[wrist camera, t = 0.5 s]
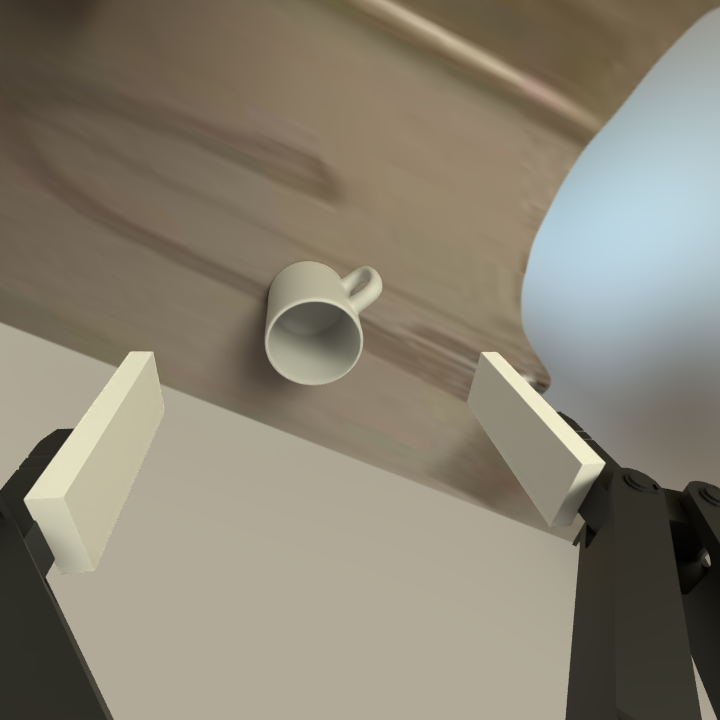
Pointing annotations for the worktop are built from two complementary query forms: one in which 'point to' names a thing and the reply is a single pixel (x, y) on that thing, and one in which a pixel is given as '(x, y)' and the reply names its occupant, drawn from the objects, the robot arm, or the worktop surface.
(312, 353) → the mug
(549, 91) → the worktop surface
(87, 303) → the worktop surface
